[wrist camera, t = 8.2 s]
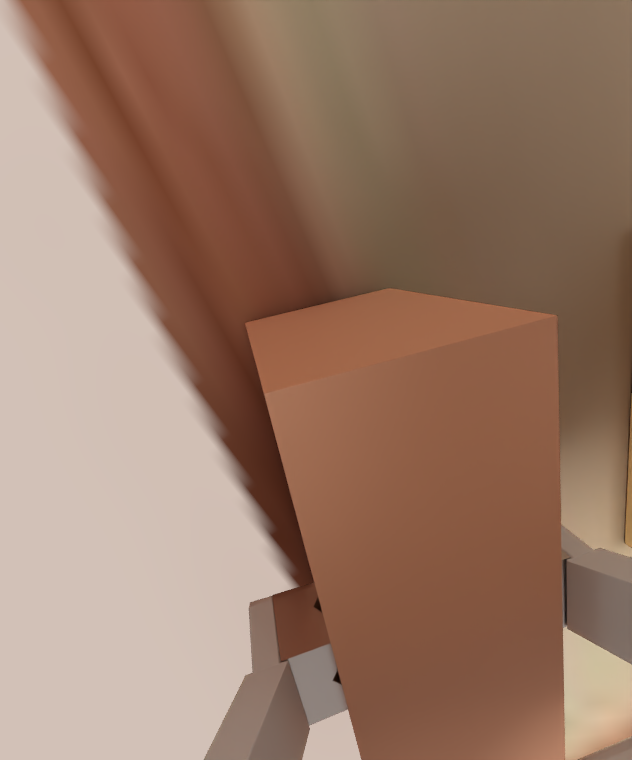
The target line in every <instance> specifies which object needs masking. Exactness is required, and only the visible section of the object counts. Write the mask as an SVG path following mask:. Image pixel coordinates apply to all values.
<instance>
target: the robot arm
mask: <svg viewBox="0 0 632 760" xmlns="http://www.w3.org/2000/svg"><path fill="white" fill-rule="evenodd" d="M561 554H562V612H563V628H564V627H566V626H567V629H569V630H571V631H573V632H574V633H576V634H578V635H580V636H582V637H583V638H585V639H587V640H589V641H591V642H592V643H594V644H596V645H598V646H600V647H601V648H603V649H605V650H607V651H609V652H610V653H612V654H614V655H616V656H618V657H619V658H621V659H623V660H625V661H627V662H628V663H630V664H632V558H631V557H628V556H624V555H621V554H618V553H614V552H611V551H608V550H605V549H601V548H598V549H595V550H593V549H592V548H591V547H589V546H588V545H587V544H586V543H584V542H583V541H582V540H580V539H579V538H578V537H577V536H575V535H574V534H573V533H571V532H570V531H569V530H568V529H566V528H565V527H564V526H562V525H561ZM249 616H250V617H249V619H250V634H251V653H252V669H253V673H251V674H248V675H246V676H245V678H244V680H243V682H242V684H241V686H240V688H239V690H238V692H237V694H236V696H235V698H234V700H233V702H232V704H231V706H230V708H229V710H228V712H227V714H226V716H225V718H224V720H223V722H222V724H221V726H220V728H219V731H218V732H217V734H216V736H215V738H214V740H213V742H212V744H211V746H210V748H209V750H208V752H207V754H206V756H205V759H204V760H302V757H303V753H304V749H305V746H306V742H307V738H308V734H309V730H310V728H309V725H312V724H314V723H316V722H319V721H321V720H323V719H325V718H328V717H330V716H333V715H335V714H338V713H340V712H342V711H345V710H347V709H348V706H347V703H346V699H345V695H344V691H343V688H342V684H341V680H340V676H339V673H338V669H337V665H336V661H335V658H334V654H333V650H332V646H331V643H330V639H329V635H328V632H327V628H326V624H325V620H324V617H323V613H322V609H321V605H320V602H319V598H318V594H317V591H316V587H315V583H310V584H307V585H304V586H301V587H297V588H294V589H291V590H288V591H284V592H281V593H278V594H275V595H273V596H270V597H268V598H264V599H260V600H257V601H254V602H251V603H250V606H249ZM578 760H632V736H631V737H629V738H626V739H624V740H622V741H619V742H617V743H615V744H613V745H610V746H608V747H606V748H603V749H601V750H599V751H596V752H594V753H592V754H590V755H587V756H585V757H583V758H580V759H578Z"/></svg>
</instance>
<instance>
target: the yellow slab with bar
mask: <svg viewBox="0 0 632 760" xmlns="http://www.w3.org/2000/svg"><path fill="white" fill-rule="evenodd" d="M625 543H626V544H627V545H628V546H630V547H631V548H632V395H631V418H630V440H629V463H628V485H627V508H626V530H625Z"/></svg>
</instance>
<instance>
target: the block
mask: <svg viewBox="0 0 632 760" xmlns="http://www.w3.org/2000/svg"><path fill="white" fill-rule="evenodd" d="M245 325H246V329H247V333H248V336H249V340H250V344H251V348H252V351H253V355H254V359H255V363H256V366H257V370H258V374H259V378H260V381H261V385H262V389H263V393H264V396H265V400H266V404H267V408H268V411H269V415H270V419H271V423H272V426H273V430H274V434H275V438H276V441H277V445H278V449H279V452H280V456H281V460H282V464H283V467H284V471H285V475H286V479H287V482H288V486H289V490H290V494H291V497H292V501H293V505H294V509H295V512H296V516H297V520H298V524H299V527H300V531H301V535H302V539H303V542H304V546H305V550H306V554H307V557H308V561H309V565H310V569H311V572H312V576H313V580H314V583H315V587H316V591H317V594H318V598H319V602H320V605H321V609H322V613H323V617H324V620H325V624H326V628H327V632H328V635H329V639H330V643H331V646H332V650H333V654H334V658H335V661H336V665H337V669H338V673H339V676H340V680H341V684H342V688H343V691H344V695H345V699H346V703H347V706H348V711H349V715H350V718H351V722H352V725H353V729H354V733H355V737H356V741H357V744H358V748H359V752H360V756H361V759H362V760H565V728H564V670H563V612H562V554H561V496H560V438H559V380H558V321H557V315H552V314H546V313H540V312H533V311H527V310H521V309H515V308H509V307H503V306H497V305H490V304H484V303H478V302H472V301H466V300H460V299H454V298H447V297H441V296H435V295H429V294H423V293H417V292H411V291H404V290H398V289H392V288H387V289H383V290H379V291H375V292H370V293H366V294H362V295H358V296H354V297H350V298H346V299H342V300H337V301H333V302H329V303H325V304H321V305H317V306H313V307H308V308H304V309H300V310H296V311H292V312H288V313H284V314H279V315H275V316H271V317H267V318H263V319H259V320H255V321H250V322H246V323H245Z"/></svg>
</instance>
